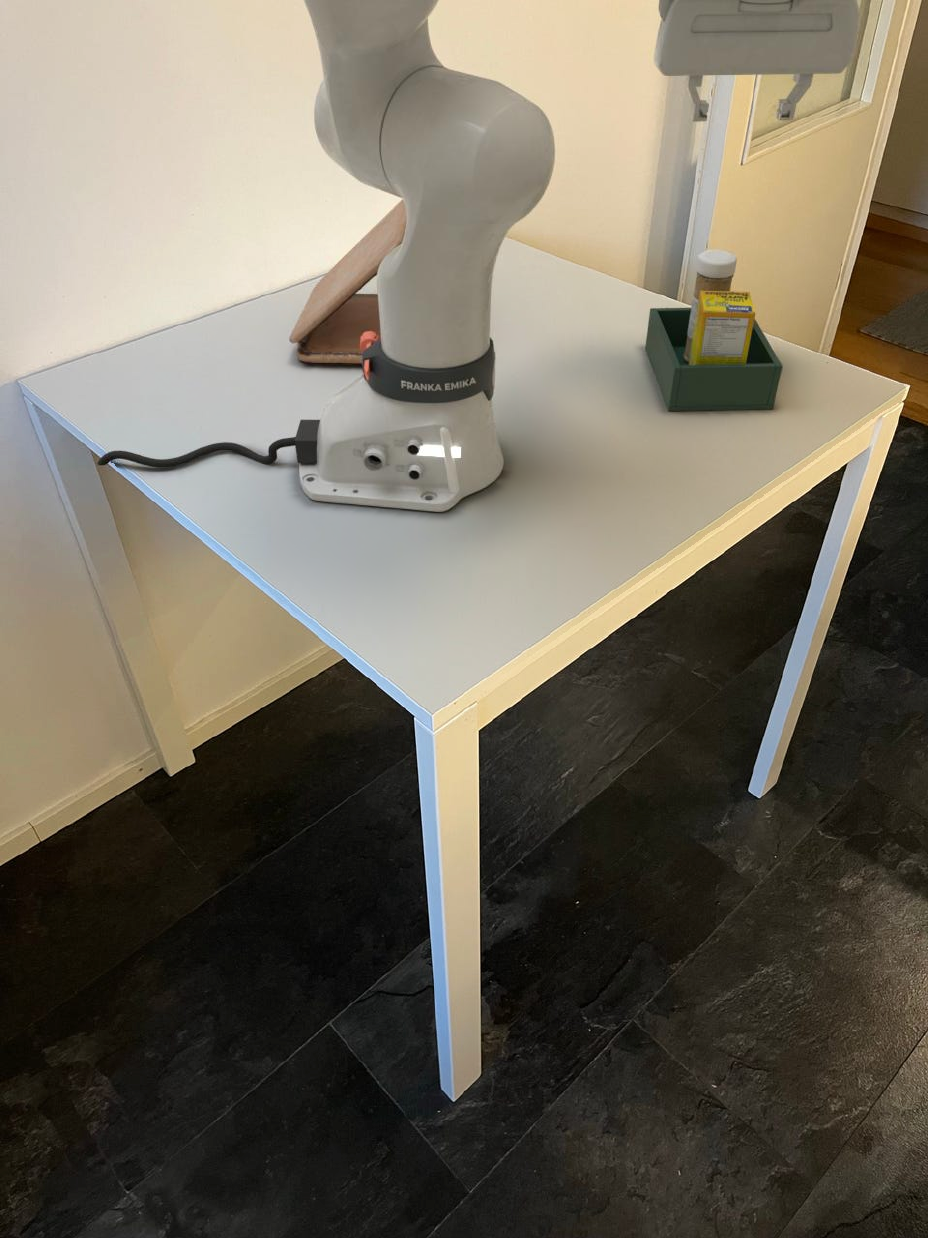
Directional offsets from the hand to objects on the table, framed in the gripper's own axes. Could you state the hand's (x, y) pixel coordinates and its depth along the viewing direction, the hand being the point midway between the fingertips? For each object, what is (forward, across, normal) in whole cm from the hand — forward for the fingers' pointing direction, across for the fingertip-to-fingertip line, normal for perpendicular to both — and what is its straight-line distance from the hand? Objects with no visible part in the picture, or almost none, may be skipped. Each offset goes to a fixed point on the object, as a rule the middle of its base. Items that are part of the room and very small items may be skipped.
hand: (741, 119), depth 104 cm
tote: (+29, 0, -4) cm, 29 cm away
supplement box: (+28, 0, -7) cm, 29 cm away
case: (+29, -42, +11) cm, 52 cm away
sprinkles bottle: (+28, 0, 0) cm, 28 cm away
